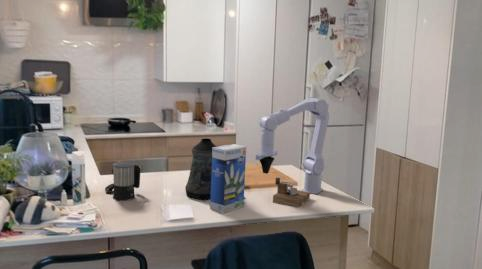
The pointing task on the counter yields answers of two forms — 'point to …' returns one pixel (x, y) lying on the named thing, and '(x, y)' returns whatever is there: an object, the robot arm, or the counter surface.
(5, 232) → the counter surface
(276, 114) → the robot arm
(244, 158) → the string lights box
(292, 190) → the shiny metal cylinder
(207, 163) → the beer stein
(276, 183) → the lock pin
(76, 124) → the counter surface
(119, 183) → the milk frother
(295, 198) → the mount
